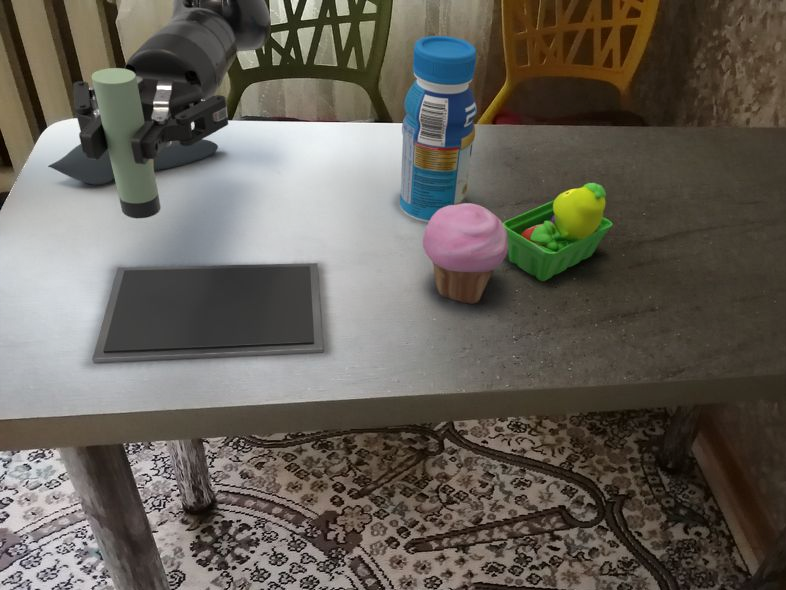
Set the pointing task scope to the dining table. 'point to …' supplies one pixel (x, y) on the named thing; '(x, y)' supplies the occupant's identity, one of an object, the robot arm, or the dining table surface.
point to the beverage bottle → (438, 127)
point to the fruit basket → (558, 232)
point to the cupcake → (464, 249)
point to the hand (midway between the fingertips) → (114, 150)
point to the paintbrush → (102, 170)
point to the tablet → (211, 312)
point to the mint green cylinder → (125, 140)
